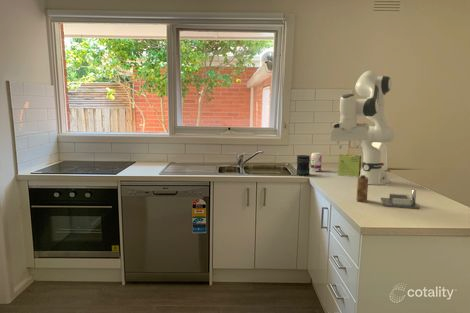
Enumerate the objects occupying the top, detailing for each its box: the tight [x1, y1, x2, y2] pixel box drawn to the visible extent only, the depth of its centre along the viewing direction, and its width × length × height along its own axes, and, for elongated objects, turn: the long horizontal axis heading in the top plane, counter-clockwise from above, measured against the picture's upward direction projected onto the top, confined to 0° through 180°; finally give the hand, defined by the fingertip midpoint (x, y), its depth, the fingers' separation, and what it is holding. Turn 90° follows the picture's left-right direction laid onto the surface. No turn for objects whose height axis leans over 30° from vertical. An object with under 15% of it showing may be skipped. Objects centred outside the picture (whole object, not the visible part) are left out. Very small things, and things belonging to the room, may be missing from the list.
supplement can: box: [310, 152, 323, 172], centre depth 260 cm, size 8×8×15 cm
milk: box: [371, 142, 388, 172], centre depth 265 cm, size 12×12×26 cm
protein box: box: [337, 153, 362, 178], centre depth 244 cm, size 10×15×16 cm
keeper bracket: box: [380, 189, 420, 210], centre depth 169 cm, size 16×14×8 cm
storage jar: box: [296, 154, 311, 177], centre depth 245 cm, size 10×10×15 cm
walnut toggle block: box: [356, 175, 369, 203], centre depth 175 cm, size 5×5×14 cm
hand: (349, 148), depth 177 cm, fingers open, 8 cm apart
